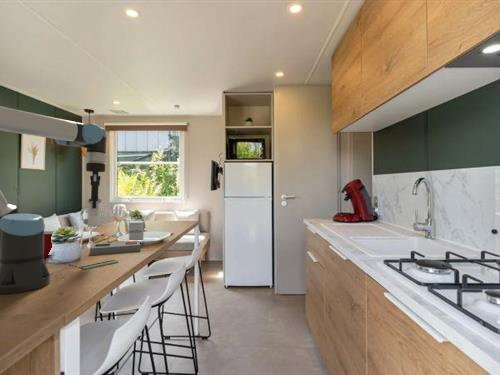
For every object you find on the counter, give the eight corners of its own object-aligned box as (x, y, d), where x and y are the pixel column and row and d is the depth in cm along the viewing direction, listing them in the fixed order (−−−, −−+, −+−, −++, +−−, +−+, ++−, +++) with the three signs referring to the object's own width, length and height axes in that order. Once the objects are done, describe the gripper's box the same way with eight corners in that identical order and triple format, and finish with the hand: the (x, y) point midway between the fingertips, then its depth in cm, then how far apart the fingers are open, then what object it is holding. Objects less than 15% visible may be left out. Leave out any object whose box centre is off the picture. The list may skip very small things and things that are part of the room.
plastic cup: (65, 254, 141) (65, 229, 141) (47, 260, 130) (47, 233, 130) (44, 254, 142) (44, 229, 142) (24, 259, 131) (24, 232, 131)
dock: (90, 257, 137) (90, 248, 137) (92, 251, 148) (92, 243, 148) (140, 252, 146) (140, 244, 146) (138, 248, 157) (138, 240, 157)
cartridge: (91, 227, 126) (92, 199, 126) (85, 226, 129) (86, 198, 129) (102, 226, 130) (103, 199, 130) (96, 225, 133) (97, 198, 133)
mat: (84, 269, 116) (84, 268, 116) (68, 264, 124) (68, 262, 124) (117, 262, 127) (117, 261, 127) (101, 257, 136) (101, 256, 136)
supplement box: (128, 245, 165) (128, 222, 164) (130, 242, 172) (130, 221, 172) (142, 244, 167) (142, 222, 166) (143, 242, 174) (143, 220, 174)
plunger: (127, 249, 147) (127, 242, 147) (126, 247, 151) (126, 240, 151) (135, 248, 149) (135, 241, 149) (135, 247, 152) (135, 240, 152)
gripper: (105, 161, 123) (103, 217, 123) (105, 164, 140) (103, 213, 139) (84, 160, 120) (83, 217, 120) (87, 163, 136) (85, 214, 136)
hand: (94, 215), depth 129 cm, fingers closed on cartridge, 5 cm apart
